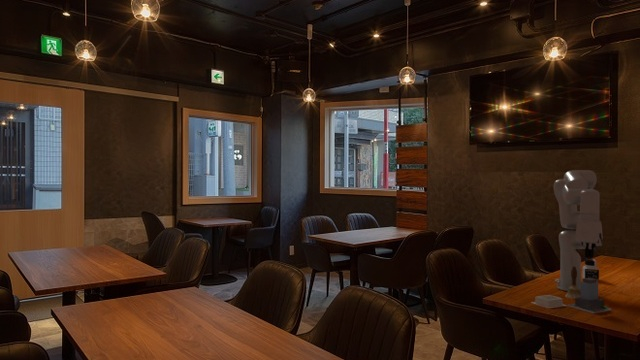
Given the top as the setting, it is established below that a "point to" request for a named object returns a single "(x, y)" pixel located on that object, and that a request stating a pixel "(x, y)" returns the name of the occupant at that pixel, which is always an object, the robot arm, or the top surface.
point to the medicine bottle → (591, 269)
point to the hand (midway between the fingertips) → (589, 257)
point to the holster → (548, 301)
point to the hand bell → (573, 286)
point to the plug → (589, 289)
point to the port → (590, 305)
